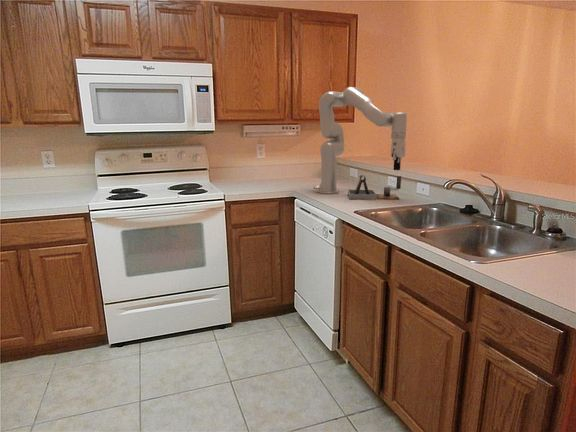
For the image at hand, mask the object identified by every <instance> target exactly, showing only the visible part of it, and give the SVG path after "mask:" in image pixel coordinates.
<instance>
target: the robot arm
mask: <svg viewBox="0 0 576 432" xmlns="http://www.w3.org/2000/svg"><path fill="white" fill-rule="evenodd" d="M318 100H319V101H318V110H319V111H318V112H319V123H320V132H321V136H322V138H324V139H329V140H326V141H324V142H323V143H322V144H321V146H320V157H321V158H320V160H321V162H320V163H321V172H320V175H321V176H320V185H314V186H313V190H317V191H318V193H319V194H324V195H336V194H339V192H340V191H339V190H338V189H337V182H338V181H337V180H338V179H337V178H338V177H337V176H338V161H337V157H338V156H340V155H342V154H343V153H344V151H345V139H344V138H345V137H344V130H343V128H344V127H342V125H341V124H340V123H338V122H336V121H335V113H334V110H333V107H337V108H338V107H339V108H340V107H341V108H342V107H347V106H353V107H354V108H355V109H357V110H358V111H360V112H361V113H362V114H361V115H363V116H364V117H365V118H366V119H368V120H369V121H370V122H371V123H373V124H374V125H375V126H378V127H381V128H382V127H386V128H387V127H391V135H390V136H391V137H390V139H391V145H390V146H391V147H390V157H392V160H393V171H400V170H401V162H402V158H404V157H405V156H406V138H407V136H406V135H407V121H408V120H407V119H408V114H407V113H406V112H405V111H398V112H397V111H396V112H384V111H382V110H381V109H379V108H377V107H376V106H375V105H374V104H373V101H372V99H371V97H369V96H367V95H366V94H365V93H364V90H362V88H360V87H356V86H348V87H346V88H345V89H344V91H335V90H329V91H326V92H324V93H323V94H322V95H321V97H320V98H319V99H318Z"/></svg>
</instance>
